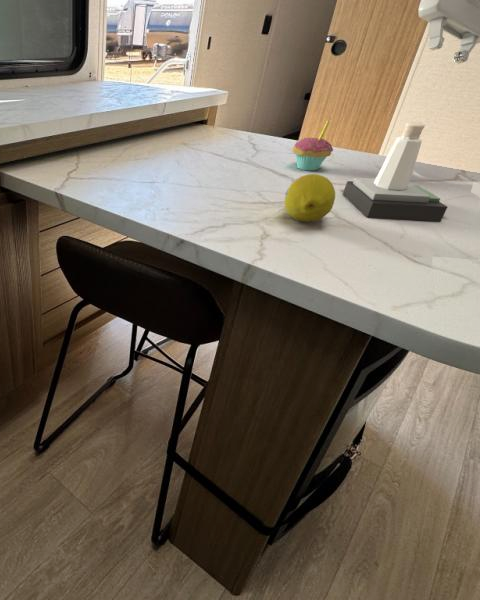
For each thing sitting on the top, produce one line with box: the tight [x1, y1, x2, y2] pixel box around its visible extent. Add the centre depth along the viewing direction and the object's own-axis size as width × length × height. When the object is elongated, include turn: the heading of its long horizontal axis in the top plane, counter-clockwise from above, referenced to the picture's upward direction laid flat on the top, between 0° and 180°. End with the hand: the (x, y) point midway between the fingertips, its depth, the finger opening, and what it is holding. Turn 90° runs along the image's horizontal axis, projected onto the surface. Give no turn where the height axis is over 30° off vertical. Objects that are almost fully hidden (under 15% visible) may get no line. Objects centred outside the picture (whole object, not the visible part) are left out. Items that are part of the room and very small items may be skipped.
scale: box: [342, 177, 448, 223], centre depth 79 cm, size 12×13×4 cm
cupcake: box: [291, 116, 334, 172], centre depth 99 cm, size 9×8×12 cm
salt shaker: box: [374, 122, 426, 191], centre depth 75 cm, size 5×5×11 cm
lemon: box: [284, 173, 336, 223], centre depth 72 cm, size 11×8×8 cm
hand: (447, 55), depth 81 cm, fingers open, 8 cm apart
